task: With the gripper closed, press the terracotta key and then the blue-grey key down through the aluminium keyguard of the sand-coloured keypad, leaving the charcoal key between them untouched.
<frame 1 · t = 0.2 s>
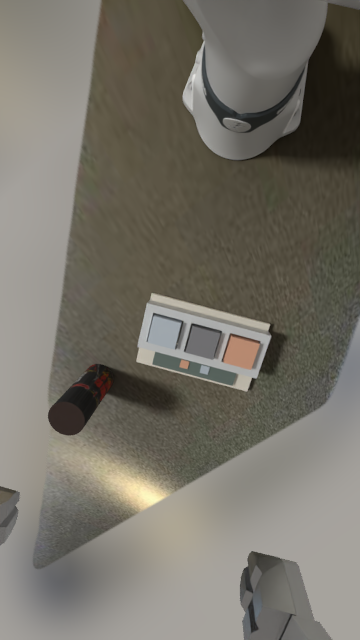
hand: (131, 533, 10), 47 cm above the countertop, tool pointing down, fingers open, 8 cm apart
key terracotta: (240, 351, 54), point 4 cm above the countertop, slide at 0.0 cm
key charcoal: (202, 341, 54), point 4 cm above the countertop, slide at 0.0 cm
deodorant: (99, 377, 62), on the countertop
key blue: (164, 331, 54), point 4 cm above the countertop, slide at 0.0 cm
keypad: (200, 342, 58), on the countertop
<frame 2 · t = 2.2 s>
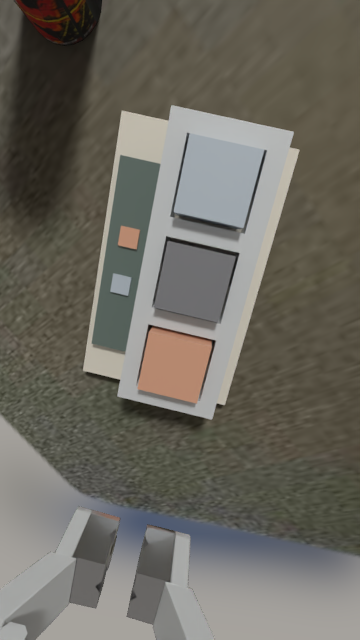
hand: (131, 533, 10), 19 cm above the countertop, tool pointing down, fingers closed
key terracotta: (175, 362, 25), point 4 cm above the countertop, slide at 0.0 cm
key charcoal: (194, 280, 23), point 4 cm above the countertop, slide at 0.0 cm
deodorant: (64, 0, 23), on the countertop
key blue: (216, 185, 21), point 4 cm above the countertop, slide at 0.0 cm
keypad: (179, 272, 27), on the countertop
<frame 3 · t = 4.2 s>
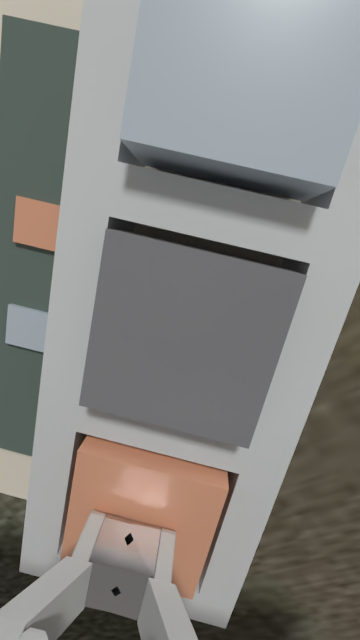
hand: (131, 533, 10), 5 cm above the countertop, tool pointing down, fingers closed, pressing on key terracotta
key terracotta: (145, 500, 11), point 3 cm above the countertop, slide at 0.6 cm, touching gripper
key charcoal: (185, 333, 9), point 4 cm above the countertop, slide at 0.0 cm
key blue: (251, 63, 7), point 4 cm above the countertop, slide at 0.0 cm
keypad: (158, 299, 13), on the countertop
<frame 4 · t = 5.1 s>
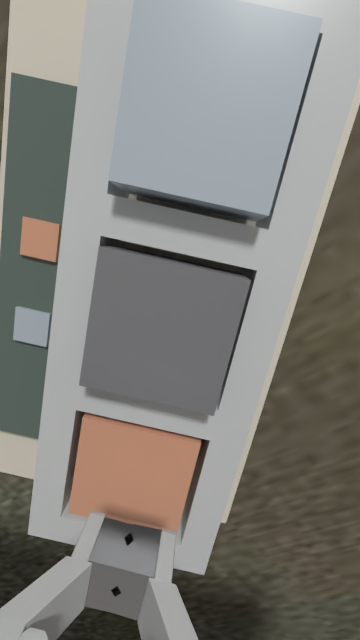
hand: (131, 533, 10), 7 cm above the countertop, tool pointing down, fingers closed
key terracotta: (136, 460, 14), point 3 cm above the countertop, slide at 1.1 cm
key charcoal: (163, 326, 11), point 4 cm above the countertop, slide at 0.0 cm
key blue: (206, 122, 10), point 4 cm above the countertop, slide at 0.0 cm
keypad: (143, 300, 15), on the countertop
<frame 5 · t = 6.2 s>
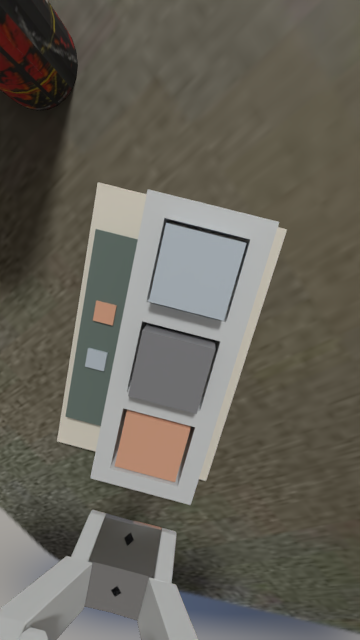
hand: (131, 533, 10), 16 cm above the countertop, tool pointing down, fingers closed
key terracotta: (153, 438, 25), point 3 cm above the countertop, slide at 1.1 cm
key charcoal: (172, 366, 22), point 4 cm above the countertop, slide at 0.0 cm
deodorant: (37, 63, 21), on the countertop
key blue: (196, 271, 20), point 4 cm above the countertop, slide at 0.0 cm
keypad: (159, 344, 25), on the countertop
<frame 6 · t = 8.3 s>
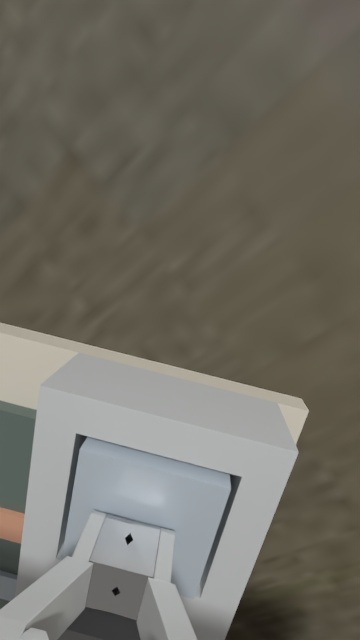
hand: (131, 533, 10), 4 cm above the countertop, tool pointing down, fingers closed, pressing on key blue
key blue: (146, 499, 11), point 3 cm above the countertop, slide at 0.7 cm, touching gripper
keypad: (106, 547, 16), on the countertop
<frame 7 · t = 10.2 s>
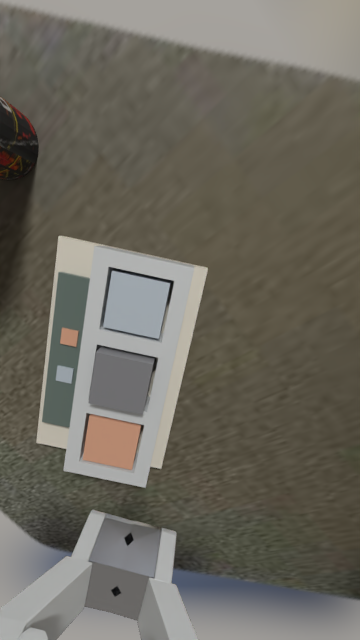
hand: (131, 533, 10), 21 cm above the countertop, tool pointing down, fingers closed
key terracotta: (114, 436, 30), point 3 cm above the countertop, slide at 1.1 cm
key charcoal: (123, 378, 28), point 4 cm above the countertop, slide at 0.0 cm
deodorant: (6, 144, 27), on the countertop
key blue: (138, 303, 27), point 3 cm above the countertop, slide at 1.1 cm
keypad: (117, 359, 31), on the countertop
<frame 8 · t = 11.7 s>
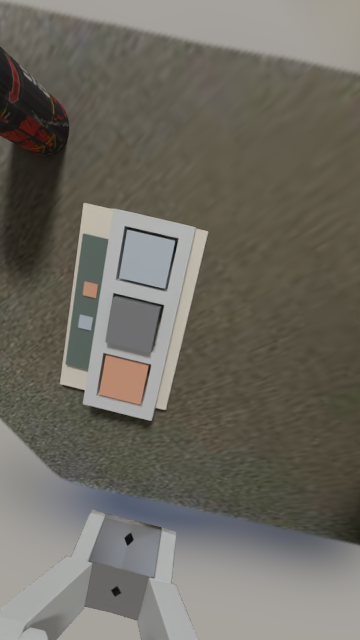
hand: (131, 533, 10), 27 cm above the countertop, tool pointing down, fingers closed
key terracotta: (125, 376, 36), point 3 cm above the countertop, slide at 1.1 cm
key charcoal: (134, 323, 33), point 4 cm above the countertop, slide at 0.0 cm
deodorant: (43, 126, 33), on the countertop
key blue: (148, 259, 32), point 3 cm above the countertop, slide at 1.1 cm
keypad: (129, 312, 37), on the countertop
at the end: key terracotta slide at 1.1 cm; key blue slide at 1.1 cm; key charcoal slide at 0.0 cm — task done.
